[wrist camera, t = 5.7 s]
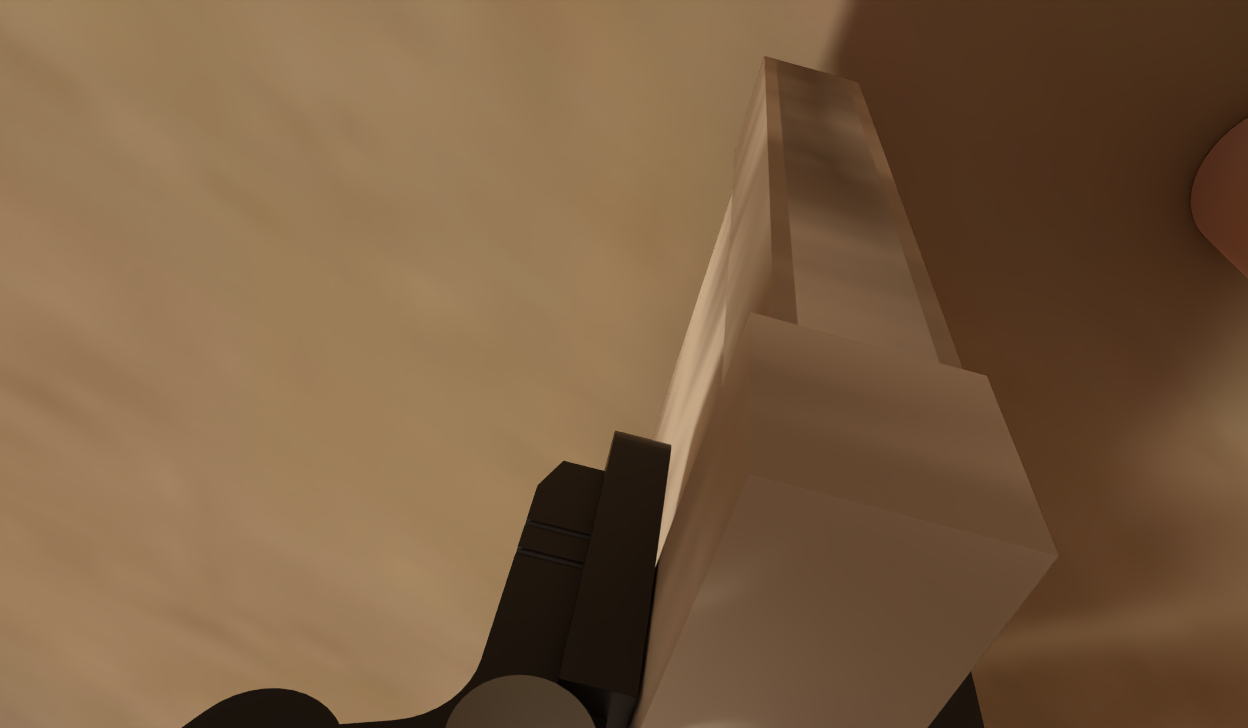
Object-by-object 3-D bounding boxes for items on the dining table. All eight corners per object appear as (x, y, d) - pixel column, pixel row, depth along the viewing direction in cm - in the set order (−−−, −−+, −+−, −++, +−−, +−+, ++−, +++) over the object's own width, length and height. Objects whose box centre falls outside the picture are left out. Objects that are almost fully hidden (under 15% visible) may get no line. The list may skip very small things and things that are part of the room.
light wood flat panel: (632, 684, 23) (560, 1206, 15) (562, 666, 23) (448, 1178, 15) (869, 85, 14) (1060, 555, 5) (752, 52, 14) (749, 472, 5)
